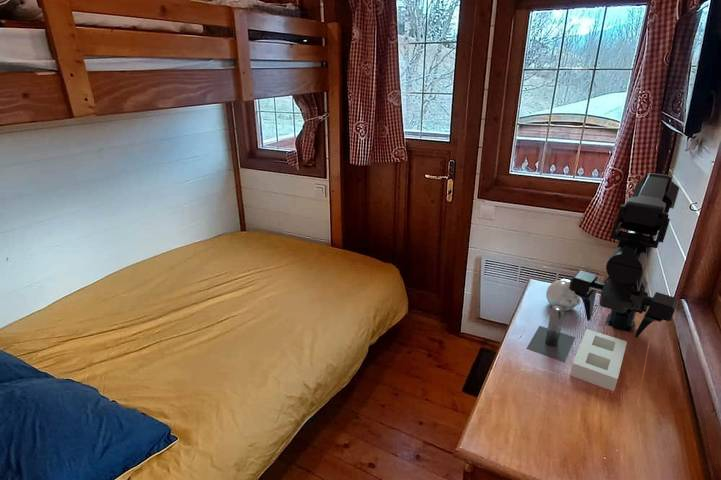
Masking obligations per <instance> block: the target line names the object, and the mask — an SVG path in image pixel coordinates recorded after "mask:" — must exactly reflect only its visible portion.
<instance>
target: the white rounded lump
mask: <svg viewBox="0 0 721 480" xmlns="http://www.w3.org/2000/svg"><path fill="white" fill-rule="evenodd" d="M570 281H571V279H566V278H563V279H562V278H561V279H559V280H555V281H553V282H551V284H550V285H548V288H547V290H546V294H545V295H546V300H547V303H548V304H549V305H550V306H551V308H552V307H553V306H560V307H562V308H564V309H565V312H567V311H571V310H573V309H575V308H576V307H577V306H579V305H580V303H581V297H580V296H578V295H576V294H575V292H574V291H571V290H570V289H569V286H570Z"/></svg>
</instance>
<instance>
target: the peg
mask: <svg viewBox="0 0 721 480" xmlns="http://www.w3.org/2000/svg"><path fill="white" fill-rule="evenodd" d="M565 314H566V311H565V309H564V308H562V307H560V306H553V307H552V306H551V309H550V316H549V319H548V320H549V321H548V324H547V328H548V329H547V334H546V339H545V343H546V344H547V345H549V346H553V347H554V346H557V345H558V341H559V336H560V332H561V331H562V326H563V322H564V316H565ZM561 333H562V332H561Z"/></svg>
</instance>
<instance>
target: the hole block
mask: <svg viewBox="0 0 721 480" xmlns="http://www.w3.org/2000/svg"><path fill="white" fill-rule="evenodd" d="M627 343H628V341H626V340H624V339H621V338H620V339H619V338H617V337H613V336H610V335H606V334H604V333H601V332H597V331H594V330H591V329H586V330H585V331H584V334H583V336H582V340H581V342H580V344H579V346H578V349H577V352H576V353H575V354H576V355H575V357H574V359H573V362H572V363H571V364H572V365H571V369H570V373H569V376H571V377H574V378H576V379H580V380H582V381H584V382H587V383H590V384H593V385H596V386H597V387H602V388H604V389H606V390H609V391H611V392H615V389H616V386H617V383H618V379H619V377H620V371H621V369H622V368H621V367H622V364H623V359H624V355H625V353H626V352H625V351H626V347H627Z"/></svg>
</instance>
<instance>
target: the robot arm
mask: <svg viewBox="0 0 721 480" xmlns="http://www.w3.org/2000/svg"><path fill="white" fill-rule="evenodd" d="M679 191H680V187H679V185H677V184H676V183H675V182H674V181H673V176H670V175H669V174H662V173H656V172H655V173H653V172H649V173H647V172H646V173H645V175H644V177H643V178H642V179H639V180H637V181H636V184H635V186H634V190H633V193H632V196H631V197H628V199H627V200H626V202H625V204H621V205H620V208H619V211H618V213H617V217H616V219H615V223H614V226H613V229H612V232H611V234H610V235H611V236H610V239H612V240H616V241H617V244H616V247H615V248H614V249H613V252H612V253H611V255H610V257H609V259H608V260H607V262H606V265H605V269H606V273H607V275H608V277H606V279H605V280H604V282H601V281H598V275H597V274H595V273H592V272H587V271H584V270H579V271H577V272H576V273H575V274H574V275H573V276H572V278H571V279H570V280H571V281H570V286H569V289H570V290H571V291H574V292H575V294H576V295H578V296H580V299H581V300H582V302H583V306H584V310H585V315H586V320H587V322H590V321H591V318H592V316H593V313H594V308H595V307H594V306H595V300H596V295H597V292H600V295H599V297H600V298H599V302H598V303H599V306H600V307H602V308H603V309H610V312H609V313H608V314H607V317H606V322H605V323H604V324H605V326H608V327H611V328H614V329H617V330H620V331H625V332H628V333H633V331H634V327H635V324H636V321H635V318H636V314H637V313H639V314H643V313H644V316H643V318H642V319H641V322H640V324H639V326H638V328H637V329H636V331H635V334H634V338H639V336H640V335H641V334H642V333H643V331H645V329H646V328H648V327H649V325H650V324H651V323H654V322H658V323H659V322H662V321H666V322H671V321H672V320H673V317H674V314H675V312H676V309H677V307H678V303H679V300H678V299H677V298H676V297H675V296H672V295H669V294H666V293H665V294H664V293H661V292H657V291H655V293H654V295H653V297H652V296H649V292H647V291H646V290H647V287H648V282H647V279H646V276H645V271H646V268H647V265H648V262H649V258H650V254H651V251H652V249H658V246H659V243H661V244H662V243H664V240H665V238H666V234H667V231H668V227H669V226H670V225H669V224H670V221H671V218H669V217H670V215H669V211H670V209H674V208H675V205H676V202H677V198H678V194H679ZM619 229H620V230H619ZM623 230H624V231H623ZM655 236H656V238H654V237H655Z"/></svg>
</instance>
